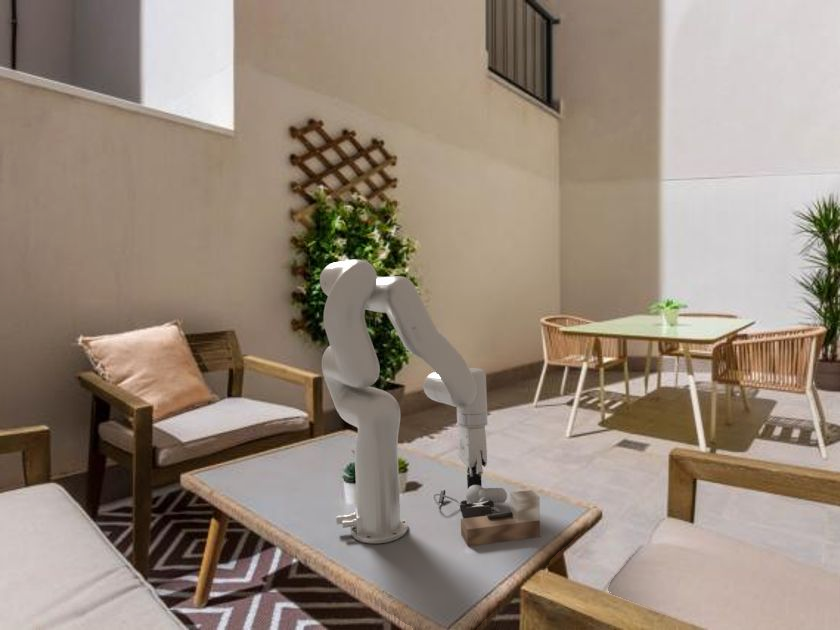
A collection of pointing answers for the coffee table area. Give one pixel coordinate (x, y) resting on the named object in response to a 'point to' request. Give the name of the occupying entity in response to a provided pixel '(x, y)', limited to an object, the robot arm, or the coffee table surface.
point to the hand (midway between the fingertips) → (474, 490)
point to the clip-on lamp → (478, 500)
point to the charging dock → (505, 522)
